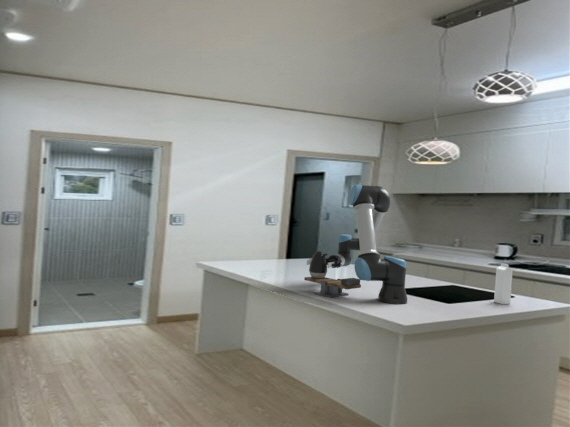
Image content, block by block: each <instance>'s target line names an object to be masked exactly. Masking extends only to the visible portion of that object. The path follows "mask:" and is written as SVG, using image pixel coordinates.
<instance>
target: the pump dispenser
mask: <svg viewBox="0 0 570 427" xmlns="http://www.w3.org/2000/svg"><path fill="white" fill-rule="evenodd" d="M326 256H328V253H323V252H322V251H321V250H317V251H315V252H314V254H313V255H312V257H311V259H312V260H311V263H310V265H309V267H308V272H309V275H310V277H313V278H317V279H322V278H324V277H326V276H327V273H328V265H327V263H326V259H327V257H326Z"/></svg>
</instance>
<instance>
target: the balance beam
mask: <svg viewBox="0 0 570 427" xmlns="http://www.w3.org/2000/svg"><path fill="white" fill-rule="evenodd" d="M340 279H341V280H337V278H336V279H335V278H332V277H331V278H330V277H326V276H325V277H324V278H322V279H317V278H313V277H312V276H305V277H304V281H308V282H312V283H316V284H320V285H321V281H322V280H323V281H327V285H329V286H334V287H338V288H342V290H351V289H360V288H362V284H361V280H360V279H359V278H355V277H348V278H340Z"/></svg>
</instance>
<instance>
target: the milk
mask: <svg viewBox="0 0 570 427" xmlns="http://www.w3.org/2000/svg"><path fill="white" fill-rule="evenodd" d="M513 272H514V271H513V269H512V268H510V265H509V264H508V263H503V262H501V263H500V265H499V266H498V267H496V269H495V281H494V282H495V284H494V296H493V297H494V298H493V302H494V303H498V304H500V305H511V298H512V287H513V286H512V283H513V274H514V273H513Z"/></svg>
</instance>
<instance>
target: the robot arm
mask: <svg viewBox="0 0 570 427" xmlns="http://www.w3.org/2000/svg"><path fill="white" fill-rule="evenodd" d="M348 194H349V195H348V205H349V206H351V207H352V209H353V211H354V212H356V220H357V221H356V222H357V223H356V224H357V231H358V232H357V233H358V238H357V237H352V235H351V234H345V233H344V234H343V233H342V234H339V236H338V241H337V242H338V243H337V244H338V246H337V247H338V248H337V249H338V250H337V254H332V255H329V257H326V263H327V269H336V268H337V269H339V268H341V267H348V266H350V265H351V264H352V263H353V260H354V259H353V256H352V255H351V251H359V254H358V255H357V257H356V258H355V261H354V272H355V275H356V277H357V279H360V281H366V282H370V281H371V282H382V285H381V288H380V290H379V293H378V295H377V296H378V297H377V300H378V301H380V302H383V303H386V304H387V303H388V304H396V305H397V304H398V305H400V304H401V305H402V304H407V303H408V295H407V290H406V275H407V260H405V259H403V258H399V257H395V256H394V257H393V256H387V255H384V256H383V258H381V254H380V252H378V251H377V244H376V234H377V231H378V229H379V226H380V224H381V223H382V220H383V218H384V216H385V214H386V213H387V212H388V211H389V209H390V206H391V196H390V193H389V192H388V191H387V189H385V188H384V187H382V186H380V185H368V184H367V185H366V184H354V185H352V187H351V188H350V191H349V193H348ZM311 260H312V257H311V258H310V257H309V259H306V265H307V266H310V263H311Z"/></svg>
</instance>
